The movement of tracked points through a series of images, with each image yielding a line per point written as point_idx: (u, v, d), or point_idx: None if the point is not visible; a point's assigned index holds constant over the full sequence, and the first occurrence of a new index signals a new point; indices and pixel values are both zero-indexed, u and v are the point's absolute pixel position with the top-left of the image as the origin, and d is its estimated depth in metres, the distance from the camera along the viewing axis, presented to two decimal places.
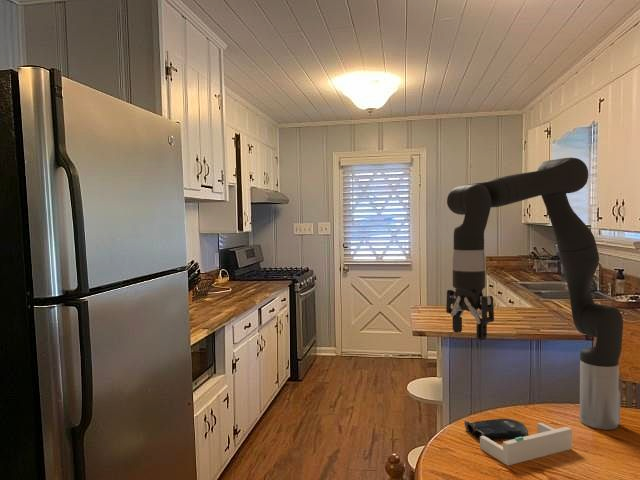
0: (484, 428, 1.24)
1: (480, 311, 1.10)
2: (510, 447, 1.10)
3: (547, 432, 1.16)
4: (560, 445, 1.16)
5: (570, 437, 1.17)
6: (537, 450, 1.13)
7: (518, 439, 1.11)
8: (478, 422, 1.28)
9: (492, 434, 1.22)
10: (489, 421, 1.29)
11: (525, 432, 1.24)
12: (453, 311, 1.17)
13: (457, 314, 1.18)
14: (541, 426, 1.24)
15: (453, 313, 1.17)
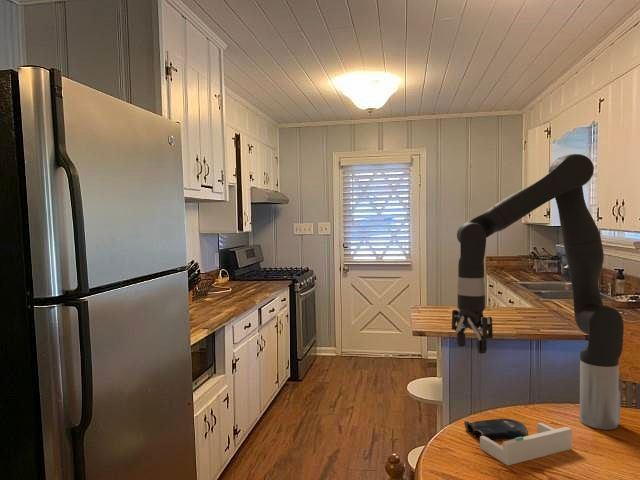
0: (484, 428, 1.24)
1: (481, 329, 1.31)
2: (510, 447, 1.10)
3: (547, 432, 1.16)
4: (560, 445, 1.16)
5: (570, 437, 1.17)
6: (537, 450, 1.13)
7: (518, 439, 1.11)
8: (478, 422, 1.28)
9: (491, 433, 1.22)
10: (489, 421, 1.29)
11: (525, 432, 1.24)
12: (458, 328, 1.38)
13: (461, 331, 1.39)
14: (541, 426, 1.24)
15: (458, 330, 1.38)
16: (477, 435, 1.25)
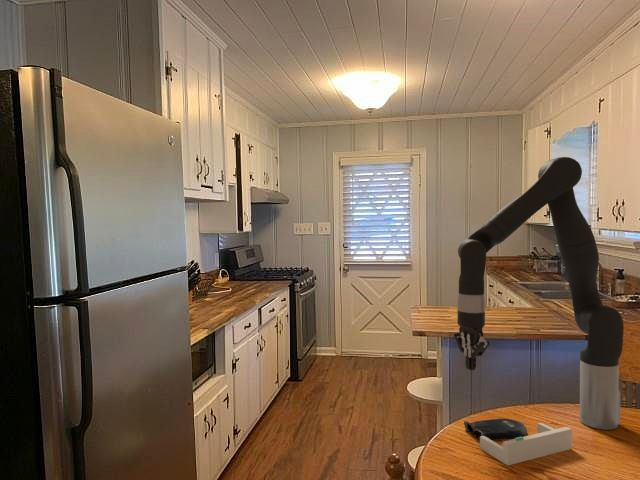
0: (484, 428, 1.24)
1: (474, 348, 1.34)
2: (510, 447, 1.10)
3: (547, 432, 1.16)
4: (560, 445, 1.16)
5: (570, 437, 1.17)
6: (537, 450, 1.13)
7: (518, 439, 1.11)
8: (478, 422, 1.28)
9: (491, 433, 1.22)
10: (488, 421, 1.29)
11: (524, 432, 1.24)
12: (465, 350, 1.36)
13: None
14: (541, 426, 1.24)
15: (466, 353, 1.36)
16: (477, 435, 1.25)
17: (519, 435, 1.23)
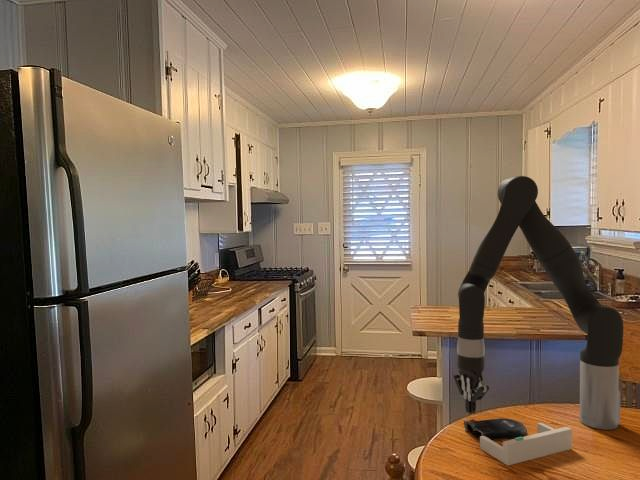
0: (484, 428, 1.24)
1: (474, 391, 1.35)
2: (510, 447, 1.10)
3: (547, 432, 1.16)
4: (560, 445, 1.16)
5: (570, 437, 1.17)
6: (537, 450, 1.13)
7: (518, 439, 1.11)
8: (477, 422, 1.28)
9: (491, 433, 1.22)
10: (488, 421, 1.29)
11: (524, 432, 1.24)
12: (464, 393, 1.37)
13: None
14: (541, 426, 1.24)
15: (466, 396, 1.36)
16: (477, 435, 1.25)
17: (519, 435, 1.23)
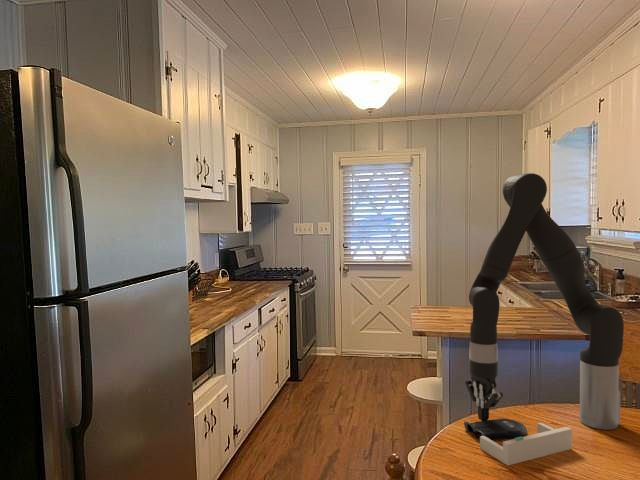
0: (484, 428, 1.24)
1: (487, 398, 1.30)
2: (510, 447, 1.10)
3: (547, 432, 1.16)
4: (560, 445, 1.16)
5: (570, 437, 1.17)
6: (537, 450, 1.13)
7: (518, 439, 1.11)
8: (477, 422, 1.28)
9: (492, 434, 1.22)
10: (488, 421, 1.29)
11: (524, 432, 1.24)
12: (477, 400, 1.32)
13: None
14: (541, 426, 1.24)
15: (478, 403, 1.32)
16: (477, 435, 1.25)
17: (519, 435, 1.23)
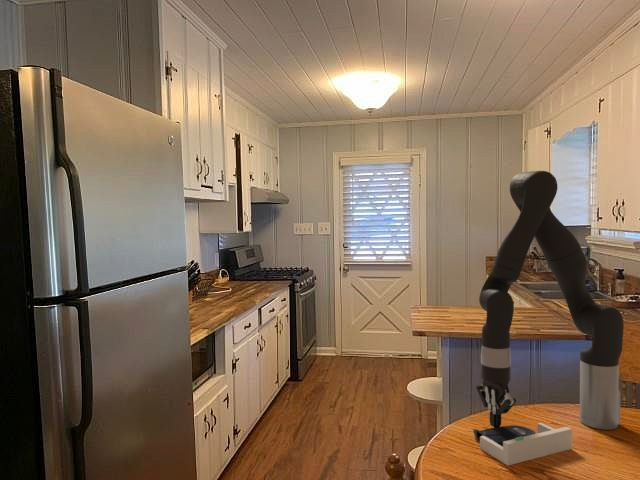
0: (495, 436, 1.20)
1: (499, 404, 1.26)
2: (510, 447, 1.10)
3: (547, 432, 1.16)
4: (560, 445, 1.16)
5: (570, 437, 1.17)
6: (537, 450, 1.13)
7: (518, 439, 1.11)
8: (487, 430, 1.24)
9: None
10: (499, 428, 1.24)
11: None
12: (489, 406, 1.28)
13: None
14: (541, 426, 1.24)
15: (490, 409, 1.27)
16: None
17: None
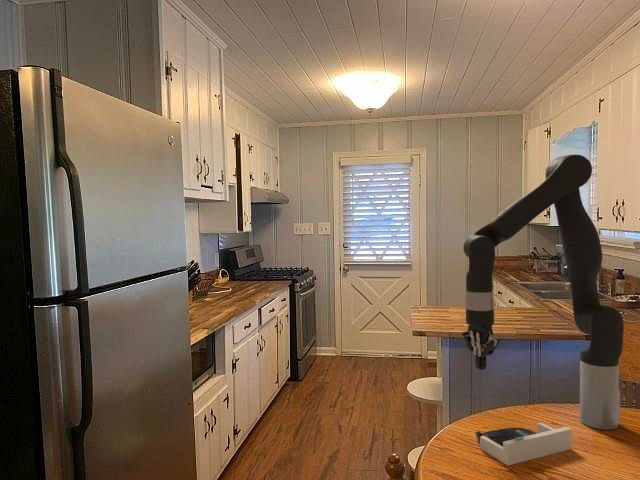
0: (498, 438, 1.18)
1: (484, 346, 1.31)
2: (510, 447, 1.10)
3: (547, 432, 1.16)
4: (560, 445, 1.16)
5: (570, 437, 1.17)
6: (537, 450, 1.13)
7: (518, 439, 1.11)
8: (490, 432, 1.22)
9: None
10: (501, 430, 1.23)
11: None
12: (474, 349, 1.33)
13: None
14: (541, 426, 1.24)
15: (476, 352, 1.32)
16: None
17: None
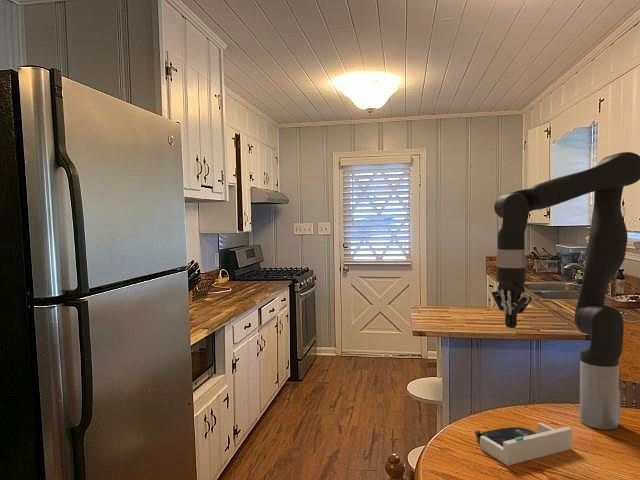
0: (498, 438, 1.18)
1: (515, 305, 1.31)
2: (510, 447, 1.10)
3: (547, 432, 1.16)
4: (560, 445, 1.16)
5: (570, 437, 1.17)
6: (537, 450, 1.13)
7: (518, 439, 1.11)
8: (489, 431, 1.22)
9: None
10: (501, 430, 1.23)
11: None
12: (504, 308, 1.33)
13: None
14: (541, 426, 1.24)
15: (506, 310, 1.32)
16: None
17: None
